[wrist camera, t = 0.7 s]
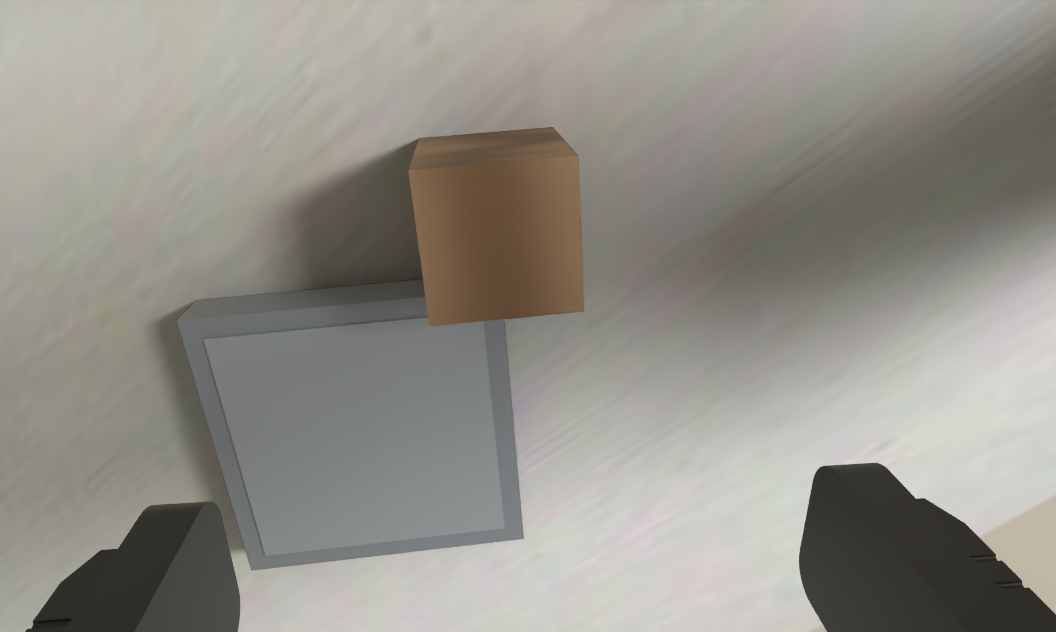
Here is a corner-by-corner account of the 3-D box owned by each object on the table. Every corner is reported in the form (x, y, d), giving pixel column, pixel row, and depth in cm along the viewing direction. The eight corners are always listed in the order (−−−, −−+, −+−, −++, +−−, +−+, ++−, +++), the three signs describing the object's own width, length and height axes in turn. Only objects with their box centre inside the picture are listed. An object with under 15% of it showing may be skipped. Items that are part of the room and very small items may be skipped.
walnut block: (552, 127, 26) (578, 155, 20) (559, 253, 28) (584, 311, 22) (418, 138, 25) (407, 170, 20) (435, 265, 27) (429, 326, 22)
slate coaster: (499, 271, 28) (501, 290, 26) (520, 509, 32) (523, 540, 30) (195, 300, 27) (175, 322, 25) (263, 538, 32) (250, 572, 30)
